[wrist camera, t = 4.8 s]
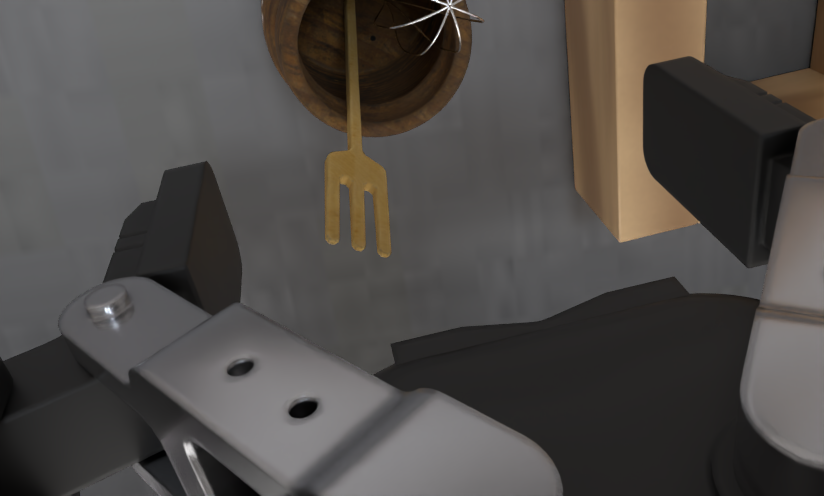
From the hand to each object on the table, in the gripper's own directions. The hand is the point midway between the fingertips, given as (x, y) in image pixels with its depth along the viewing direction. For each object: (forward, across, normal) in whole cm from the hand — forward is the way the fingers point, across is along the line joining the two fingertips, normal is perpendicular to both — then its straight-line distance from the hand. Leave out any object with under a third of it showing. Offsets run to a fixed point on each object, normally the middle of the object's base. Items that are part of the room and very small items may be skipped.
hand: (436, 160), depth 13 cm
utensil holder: (+14, 0, 0) cm, 14 cm away
